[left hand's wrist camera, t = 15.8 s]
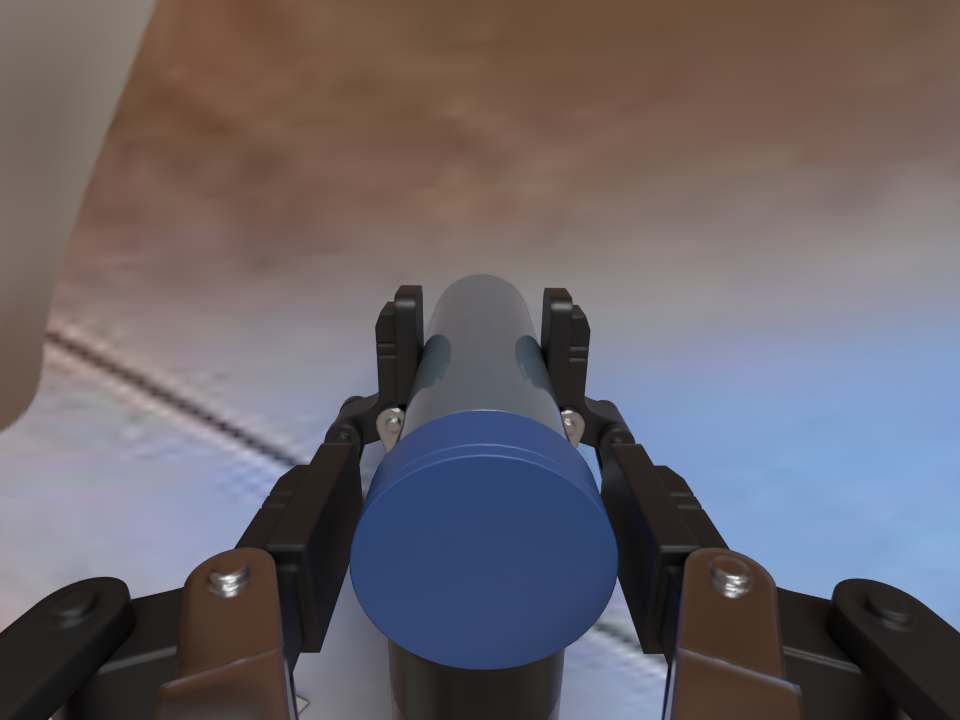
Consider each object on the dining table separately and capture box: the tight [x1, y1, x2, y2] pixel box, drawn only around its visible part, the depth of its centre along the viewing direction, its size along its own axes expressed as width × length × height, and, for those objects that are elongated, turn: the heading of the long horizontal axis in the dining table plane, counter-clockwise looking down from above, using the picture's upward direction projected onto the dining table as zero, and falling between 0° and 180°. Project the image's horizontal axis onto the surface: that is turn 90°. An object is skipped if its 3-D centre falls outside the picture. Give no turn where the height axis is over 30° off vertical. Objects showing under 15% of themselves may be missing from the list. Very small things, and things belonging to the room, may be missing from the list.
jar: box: [395, 275, 571, 444], centre depth 17 cm, size 4×4×15 cm
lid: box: [349, 410, 618, 670], centre depth 10 cm, size 5×5×2 cm
